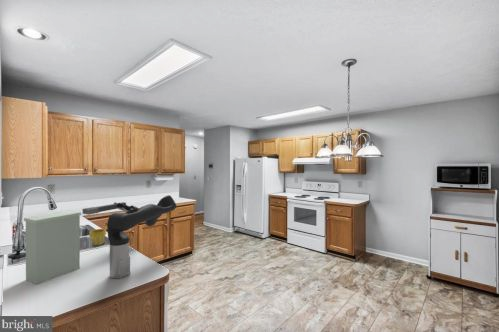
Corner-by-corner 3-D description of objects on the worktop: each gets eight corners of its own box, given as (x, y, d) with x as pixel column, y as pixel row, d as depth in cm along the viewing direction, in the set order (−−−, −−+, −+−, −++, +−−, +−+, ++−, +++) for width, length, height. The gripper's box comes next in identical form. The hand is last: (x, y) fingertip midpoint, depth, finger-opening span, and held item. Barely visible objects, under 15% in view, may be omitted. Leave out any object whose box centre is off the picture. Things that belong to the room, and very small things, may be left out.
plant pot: (87, 246, 169) (87, 233, 169) (92, 242, 179) (92, 229, 179) (103, 245, 172) (103, 232, 172) (107, 241, 182) (107, 228, 182)
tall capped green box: (69, 264, 140) (69, 210, 139) (81, 268, 135) (81, 212, 135) (24, 280, 121) (23, 218, 120) (35, 285, 116) (35, 220, 116)
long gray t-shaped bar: (121, 206, 167) (121, 202, 167) (127, 207, 164) (127, 202, 164) (82, 213, 144) (82, 208, 143) (88, 214, 141) (88, 209, 141)
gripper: (139, 218, 169) (120, 210, 155) (126, 216, 175) (106, 208, 161) (143, 208, 172) (125, 199, 158) (130, 206, 178) (111, 198, 164)
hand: (115, 204), depth 160 cm, fingers closed on long gray t-shaped bar, 3 cm apart
